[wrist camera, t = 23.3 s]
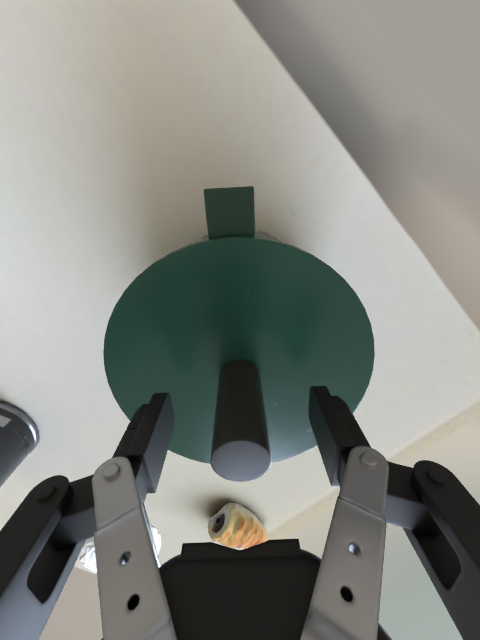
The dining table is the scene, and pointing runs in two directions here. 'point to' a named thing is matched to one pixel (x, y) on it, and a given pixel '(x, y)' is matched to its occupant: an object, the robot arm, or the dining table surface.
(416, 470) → the robot arm
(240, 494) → the dining table surface
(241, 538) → the pastry
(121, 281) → the dining table surface
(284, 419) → the lid
